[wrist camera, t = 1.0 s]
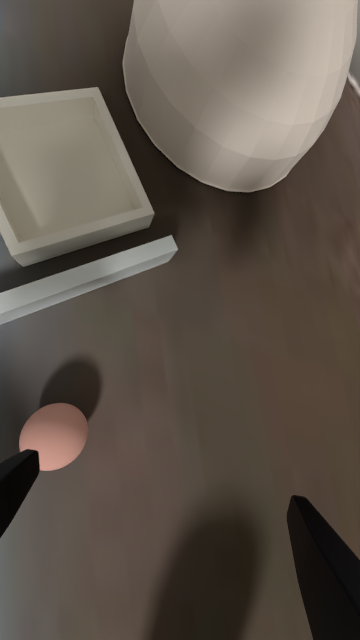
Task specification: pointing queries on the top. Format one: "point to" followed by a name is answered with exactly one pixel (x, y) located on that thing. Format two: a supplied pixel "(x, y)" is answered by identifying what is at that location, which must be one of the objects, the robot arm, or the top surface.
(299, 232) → the top surface
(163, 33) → the kettle
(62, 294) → the wall
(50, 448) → the ball
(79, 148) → the dish
